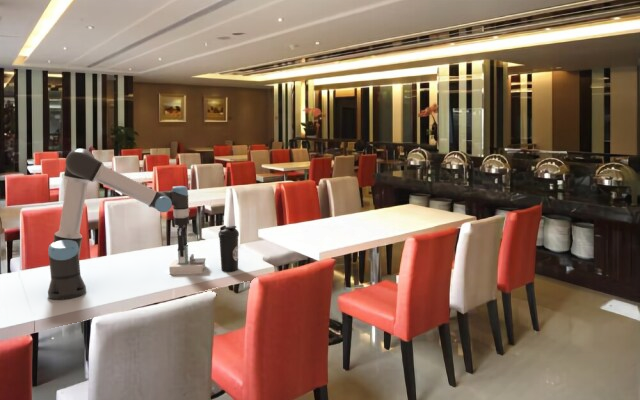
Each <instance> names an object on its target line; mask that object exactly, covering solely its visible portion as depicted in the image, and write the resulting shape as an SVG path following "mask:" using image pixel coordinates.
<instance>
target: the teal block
mask: <svg viewBox="0 0 640 400" xmlns="http://www.w3.org/2000/svg"><path fill="white" fill-rule="evenodd" d="M184 250H185V263H180V258H179V251H178V250H177V252H178V253H177V257H178V258H177V260H179V265H186V264H188V259H189V244H187V245H184Z"/></svg>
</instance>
